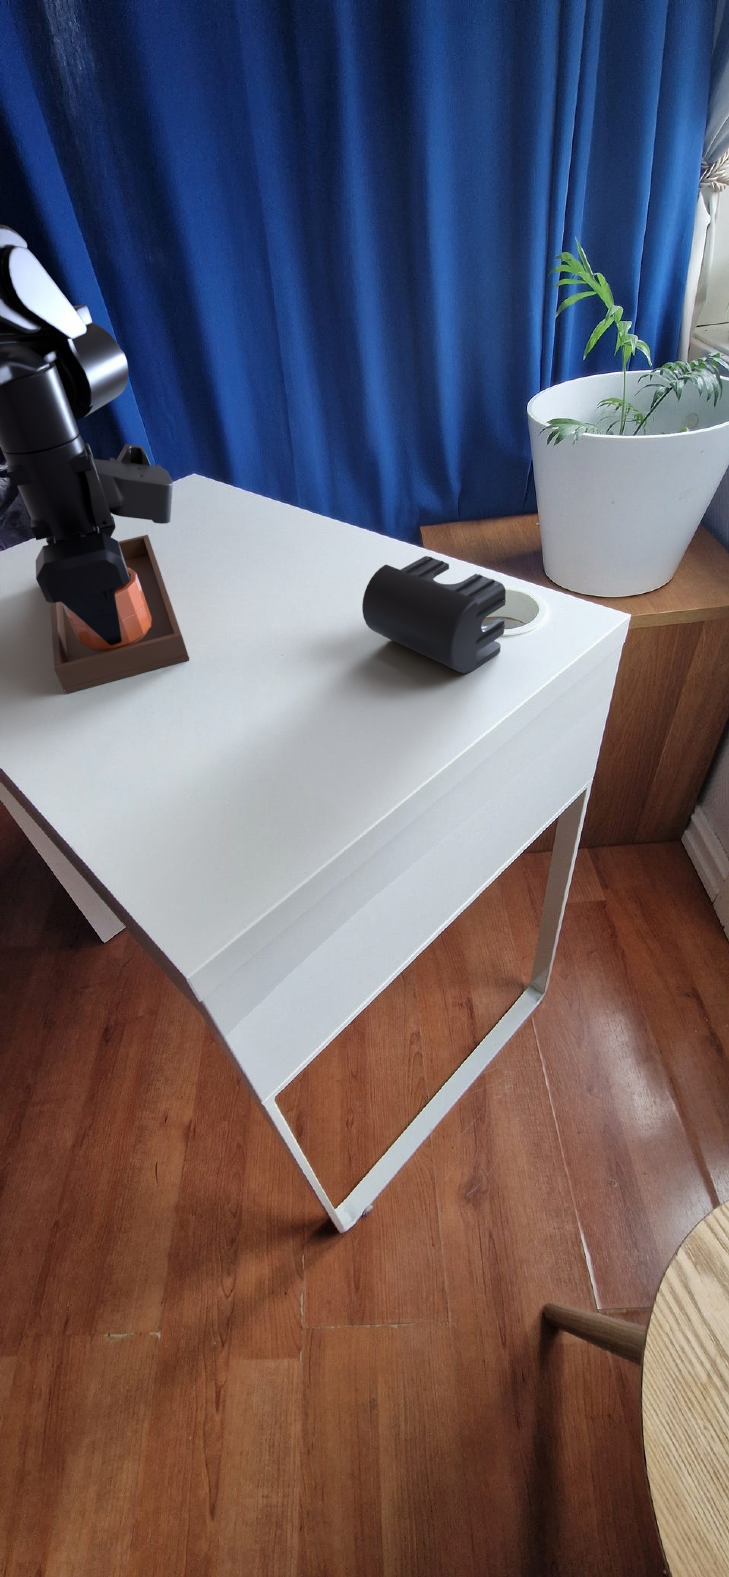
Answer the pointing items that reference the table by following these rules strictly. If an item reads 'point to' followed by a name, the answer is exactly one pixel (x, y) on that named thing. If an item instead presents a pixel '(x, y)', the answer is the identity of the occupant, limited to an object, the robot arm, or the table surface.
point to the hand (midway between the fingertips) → (112, 624)
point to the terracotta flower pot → (130, 616)
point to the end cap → (436, 613)
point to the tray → (149, 653)
